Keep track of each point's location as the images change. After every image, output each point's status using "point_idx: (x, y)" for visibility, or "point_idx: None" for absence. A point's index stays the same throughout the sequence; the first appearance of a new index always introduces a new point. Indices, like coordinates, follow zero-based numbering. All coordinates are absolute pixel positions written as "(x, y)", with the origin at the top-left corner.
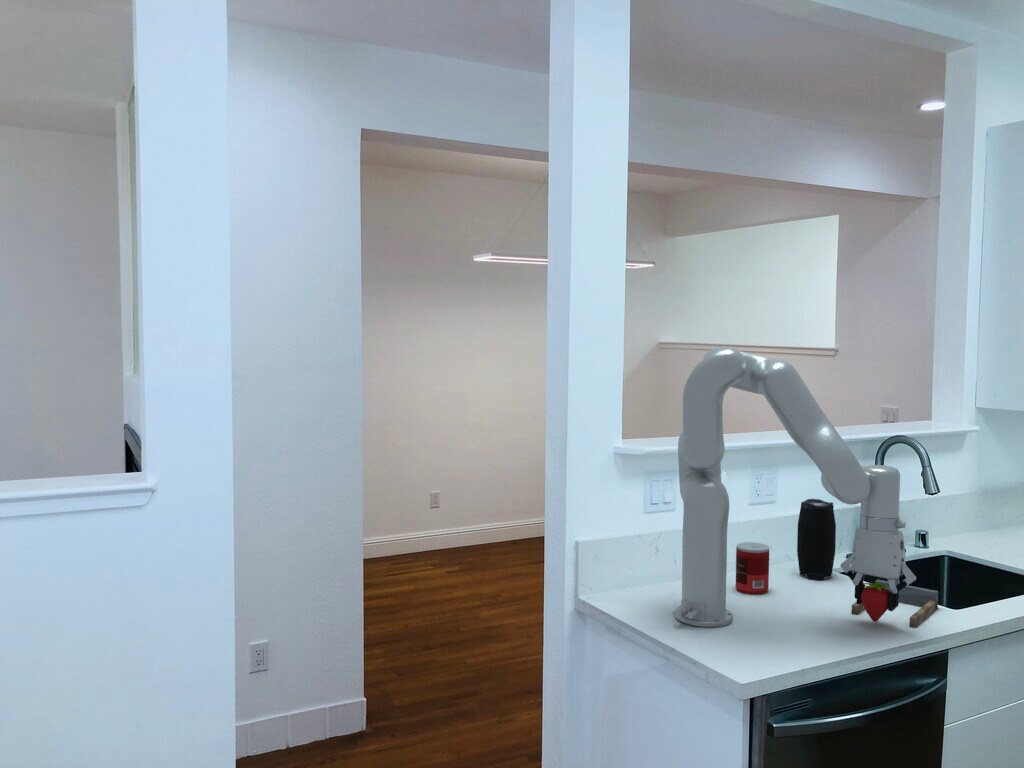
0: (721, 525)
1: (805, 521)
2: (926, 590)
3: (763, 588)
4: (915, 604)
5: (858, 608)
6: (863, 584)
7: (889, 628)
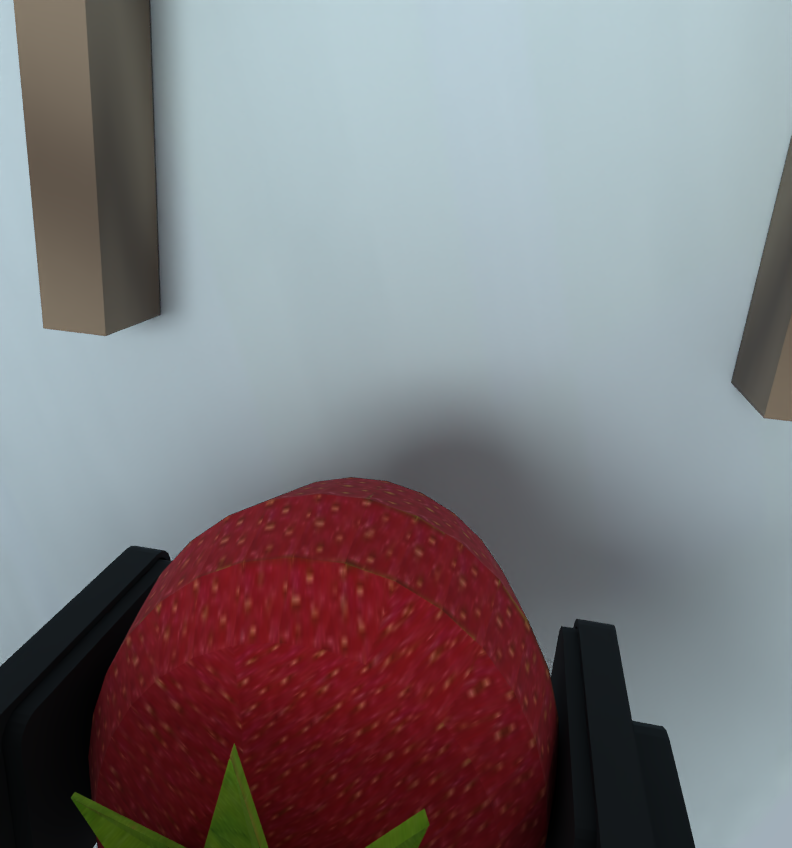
0: None
1: None
2: None
3: None
4: None
5: (126, 279)
6: (5, 760)
7: (540, 549)
